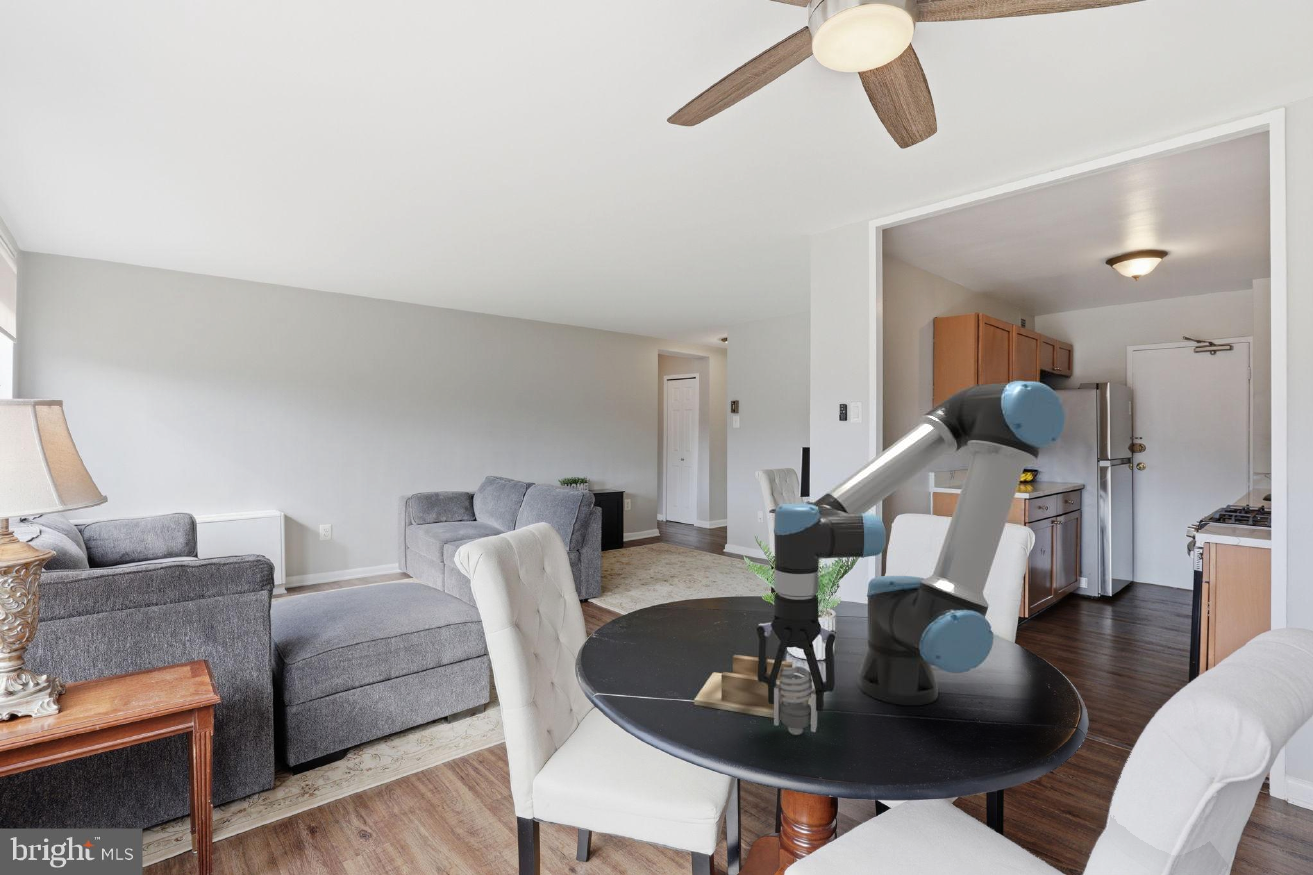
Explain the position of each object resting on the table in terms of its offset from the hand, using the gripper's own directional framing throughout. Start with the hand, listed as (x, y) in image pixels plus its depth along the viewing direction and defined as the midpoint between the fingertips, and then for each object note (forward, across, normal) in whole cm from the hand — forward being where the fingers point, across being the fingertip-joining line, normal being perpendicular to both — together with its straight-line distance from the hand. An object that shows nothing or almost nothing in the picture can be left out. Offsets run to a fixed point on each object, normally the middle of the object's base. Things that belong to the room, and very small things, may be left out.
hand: (795, 724), depth 108 cm
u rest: (+2, +9, -12) cm, 15 cm away
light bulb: (+2, 0, 0) cm, 2 cm away
